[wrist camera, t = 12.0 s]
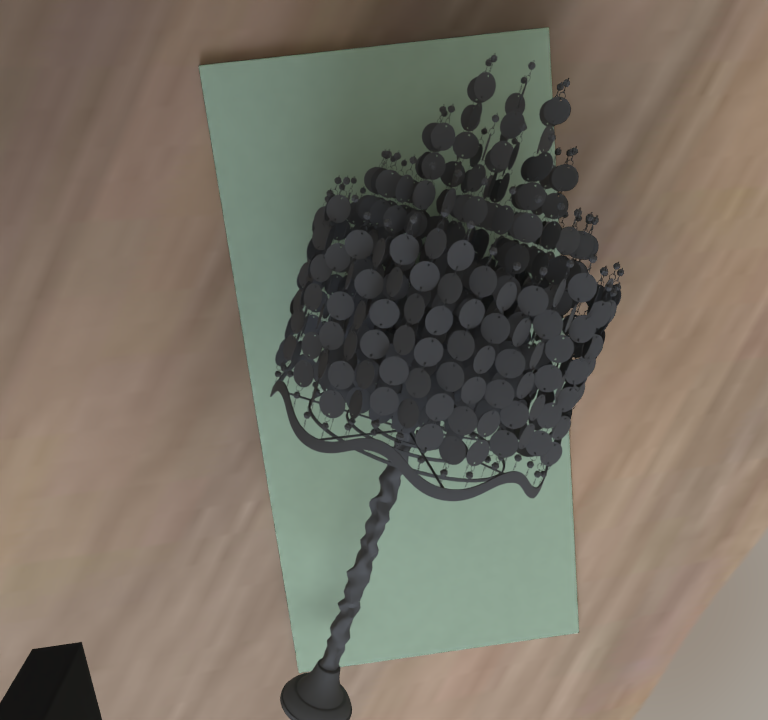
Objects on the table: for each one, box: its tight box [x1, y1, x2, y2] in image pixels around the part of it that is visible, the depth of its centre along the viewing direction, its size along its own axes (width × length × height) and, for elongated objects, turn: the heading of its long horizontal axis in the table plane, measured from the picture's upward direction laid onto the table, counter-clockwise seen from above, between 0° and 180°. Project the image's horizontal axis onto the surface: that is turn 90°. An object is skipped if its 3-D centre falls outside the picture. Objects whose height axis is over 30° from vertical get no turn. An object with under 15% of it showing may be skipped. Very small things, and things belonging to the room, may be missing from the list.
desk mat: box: [199, 27, 579, 673], centre depth 28 cm, size 24×12×1 cm, turn 6°
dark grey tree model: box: [270, 53, 624, 720], centre depth 23 cm, size 9×22×9 cm, turn 163°
